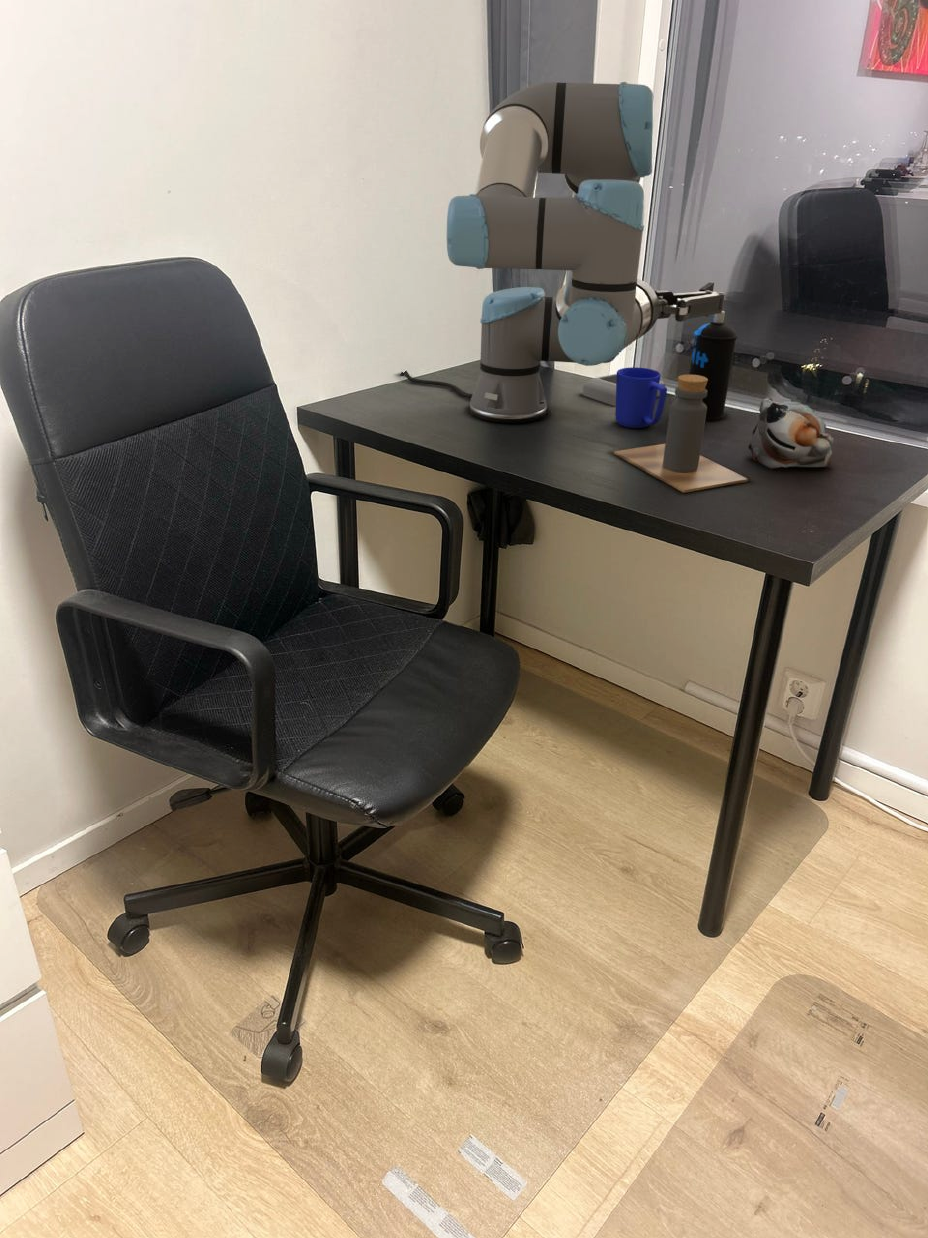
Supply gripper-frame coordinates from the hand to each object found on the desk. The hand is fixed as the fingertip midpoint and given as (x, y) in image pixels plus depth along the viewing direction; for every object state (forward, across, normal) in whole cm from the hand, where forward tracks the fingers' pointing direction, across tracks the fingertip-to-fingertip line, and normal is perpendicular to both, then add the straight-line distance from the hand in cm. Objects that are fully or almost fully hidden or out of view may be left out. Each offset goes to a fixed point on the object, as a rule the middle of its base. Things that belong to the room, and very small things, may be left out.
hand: (663, 288), depth 129 cm
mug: (+28, -8, -30) cm, 42 cm away
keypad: (+48, -17, -30) cm, 59 cm away
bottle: (+8, +5, -30) cm, 31 cm away
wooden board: (+10, +4, -30) cm, 32 cm away
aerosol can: (+42, +2, -30) cm, 52 cm away
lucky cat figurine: (+20, +21, -30) cm, 42 cm away
